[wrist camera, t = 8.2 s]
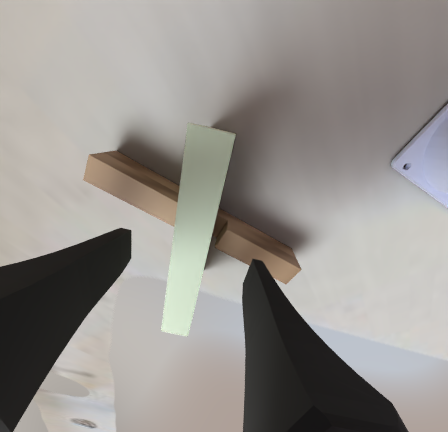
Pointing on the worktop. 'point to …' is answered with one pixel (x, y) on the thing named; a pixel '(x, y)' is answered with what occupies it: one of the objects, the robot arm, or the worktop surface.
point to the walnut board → (167, 206)
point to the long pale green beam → (195, 220)
